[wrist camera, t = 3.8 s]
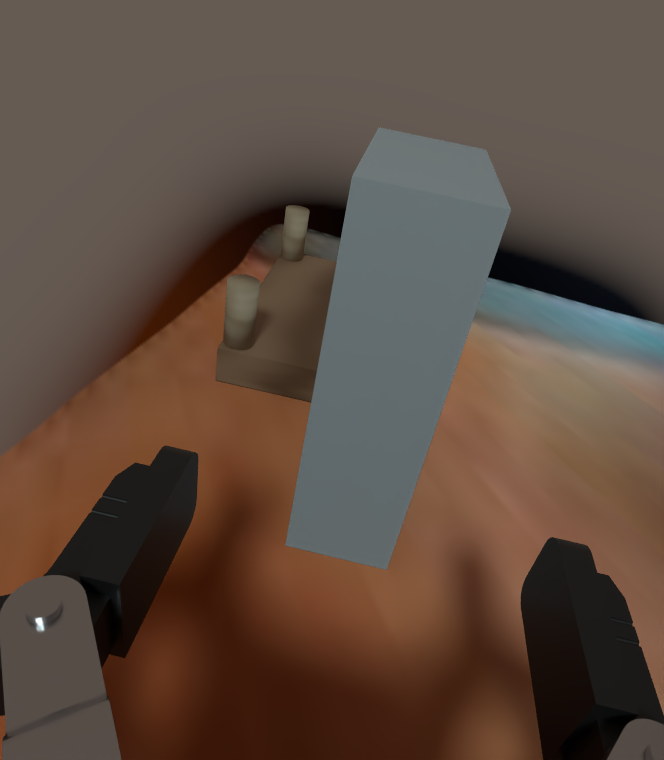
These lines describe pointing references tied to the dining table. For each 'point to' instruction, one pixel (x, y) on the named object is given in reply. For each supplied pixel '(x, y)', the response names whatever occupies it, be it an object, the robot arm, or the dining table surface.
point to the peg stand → (278, 319)
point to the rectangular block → (393, 337)
